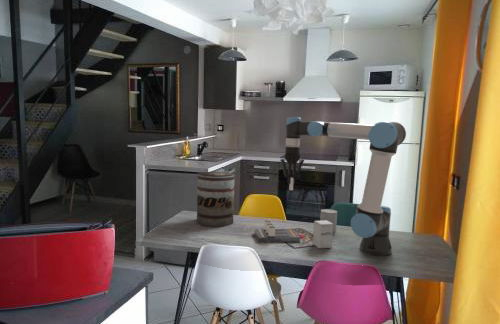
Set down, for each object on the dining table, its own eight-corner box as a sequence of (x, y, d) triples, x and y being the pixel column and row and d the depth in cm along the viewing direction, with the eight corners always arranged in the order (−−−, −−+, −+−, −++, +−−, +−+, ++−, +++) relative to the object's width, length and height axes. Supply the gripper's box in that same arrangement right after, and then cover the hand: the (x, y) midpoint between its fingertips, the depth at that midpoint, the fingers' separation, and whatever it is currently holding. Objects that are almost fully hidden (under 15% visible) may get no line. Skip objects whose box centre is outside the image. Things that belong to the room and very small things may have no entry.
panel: (299, 241, 193) (300, 236, 193) (258, 242, 190) (259, 237, 190) (292, 233, 208) (292, 228, 207) (254, 233, 205) (254, 229, 204)
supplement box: (319, 248, 183) (320, 224, 182) (312, 244, 190) (313, 220, 189) (332, 247, 185) (333, 223, 184) (325, 243, 192) (326, 219, 191)
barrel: (191, 225, 218) (192, 175, 214) (203, 216, 240) (204, 170, 236) (227, 228, 213) (229, 177, 210) (236, 218, 235) (238, 172, 232)
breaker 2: (274, 236, 191) (275, 227, 191) (268, 236, 191) (269, 227, 191) (273, 234, 194) (274, 226, 194) (268, 234, 194) (268, 226, 193)
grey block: (337, 234, 209) (339, 213, 208) (321, 233, 209) (322, 212, 208) (334, 229, 218) (335, 209, 217) (318, 228, 219) (319, 208, 217)
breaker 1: (270, 230, 202) (271, 221, 202) (265, 230, 202) (265, 221, 201) (269, 228, 205) (270, 220, 204) (264, 228, 204) (264, 220, 204)
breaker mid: (272, 233, 197) (273, 224, 196) (266, 233, 196) (267, 224, 196) (271, 231, 199) (272, 223, 199) (266, 231, 199) (266, 223, 199)
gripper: (302, 146, 199) (300, 188, 202) (279, 145, 197) (277, 188, 200) (306, 147, 192) (304, 191, 194) (282, 146, 190) (280, 191, 192)
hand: (291, 189), depth 197 cm, fingers closed
